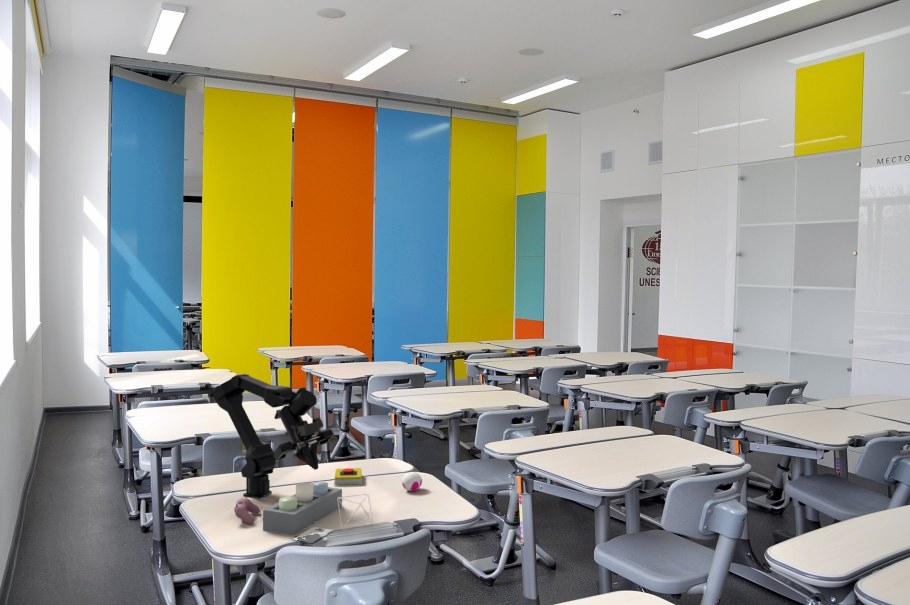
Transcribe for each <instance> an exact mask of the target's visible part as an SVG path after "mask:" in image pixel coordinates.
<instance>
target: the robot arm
mask: <svg viewBox="0 0 910 605" xmlns="http://www.w3.org/2000/svg"><path fill="white" fill-rule="evenodd" d="M245 392H248V393H250V394H252V395H255V396H257V397H259V398H261V399H263V401H264V403H266V404H267V405H268V406H269V407H271V408H280V407H281V408H280V409H276V411H275V414H274V420H279V419H280V420H281V422H282V424H283V426H284V429H285V431H286V432H284V433H285V435H286V437H289V439H290V441H287V442H283V443H281V444H279V445H278V446H277V447H276V448H275V450H274V451H273V448H272V446H271V444H270V443H263V442H261V439H260V438H259V436H258V434H257V432H256V430H255V428H254V426H253V424H252V422H251V420H250V418H249V416H248V414H247V412H246V410H245V408H244V405H243V400H244V396H243V394H244V393H245ZM212 394H213V395H212V397H213V399H214V401H215V402H216V404H217V405H218V407H219V408H220V409H222V410H224V411H225V412H226V413H227V414H228V416H229V418H230V420H231V422H232V424H233V426H234V428H235V430H236V432H237V434H238V437H239V438H240V441H241V442H242V444H243V446H244V449H245V458H244V460H245V462H246V463H245V464H244V465H243V467H242V469H241V470H240V473H241V477H242V478H245V479H246V480H245V481H246V485H245V486H246V492H245V493H243V494H242V496H244V497H249V496H250V498H256V499H259V498H262V497H265V496H267V495H269V494H271V493H272V492H273V491H272V490H270V486H271V485H270V484H271V483H270V479H269V478H270V476H269V474H273V473H274V468H275V465H276V461H277V462H278V461H281V460H284V459H285V458H286V456H287V454H289V453H291V452H293V453H294V455H292V456H293V458H297V459H298V460H300V461H302V462H304V463H305V464H306V465H308V466H309V467H310V468H312V469H313V470H316V471H317V470H318V469H319V461H318V447H320V446H323V445H326V444H328V443H329V442H330V441H331V439H332V438H334V436H335V433H334V431H333V430H332V429H331V428H325V429H323V430H321V428H323V427H324V423H323V420H322V419H321V417H320V416H318V417H316V418H312V420H311V421H312V422H310V423H309V422H308V420H306V419H305V420H304V419H303V418H302V417H303V416H305V415H306V414H307V413H308V412H310V410H312V408H314V407H315V406H316V405H317V402H318V399H317V396H316V395H315V394H314V393H313V392H312V391H310V390H307V388H306V387H300V388H299V389H297V391H296V392H295V391H293V389H292V388H291V387H289V386H286V385H273V384H269V383H267V382H265V381H262V380H260V379H258V378H255V377H253V376H250V375H249V374H247V373H241V374H236V375H234V376H232V377H231V378H230V379H228V380H226V381H225V382H223V383H221V384H220V385H217V386H216V387H215V388H214V390H213V392H212ZM316 433H317V434H316ZM315 434H316V435H315ZM314 435H315V436H314Z"/></svg>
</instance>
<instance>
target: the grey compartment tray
mask: <svg viewBox="0 0 910 605" xmlns="http://www.w3.org/2000/svg"><path fill="white" fill-rule="evenodd" d="M290 496H291V497H296V493H294V494H293V495H290ZM338 497H343V489H342V488H339V487H329V486H328V493H326V494H324V495H318V494H313V501H311V502H309V503H303V502H297V509H296V510H294V511H292V512H289V511H282V510H279V501H278V502H276V503H274V504H272V505H269V506H267V507H265V508H263V509H262V531H268V532H273V533H281V534H286V535H293V536H295V535H296V534H298V533H300V532H301V531H303V530H305V529H307V528H308V527H310V526H312V525H314V524H315V523H317V522H319V521H321V520H322V519H324V518H327V517H328V516H329V515H331V514H333V513H335V512H336V511H339V509H341V508H343V507H342V505H343V498H342V499H339V498H338ZM337 498H338V499H339V500H340V502H341V503H342V505H341V503H340V502H339V500H337ZM338 502H339V507H338Z"/></svg>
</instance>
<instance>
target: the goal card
mask: <svg viewBox="0 0 910 605" xmlns="http://www.w3.org/2000/svg"><path fill="white" fill-rule="evenodd" d="M333 531H334V530H333V529H331V528H330V529H329V528H323V527H322V528H321V527H316V526H314V527H312V528H309V529H308V530H307V531H305V532H303V533H301V534H299V535H297V536H296V537H294V538H293V539H292V541H294V542H298V541H297V540H298V539H297V538H298V537H302V539H304V540H306V539H307V538H308V537H304V538H303V536H307V535H314V534H325V533H329V532H331V533H332V532H333ZM329 534H330V533H329ZM307 540H308V539H307Z"/></svg>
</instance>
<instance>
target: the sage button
mask: <svg viewBox="0 0 910 605" xmlns="http://www.w3.org/2000/svg"><path fill="white" fill-rule="evenodd" d="M291 496H292V495H290V496H283V497H280V498H279V499H278V500H279V501H278V502H279V510H282V511H289V512H292V511H294V510H296V509H297V498H296V497H291Z"/></svg>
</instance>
